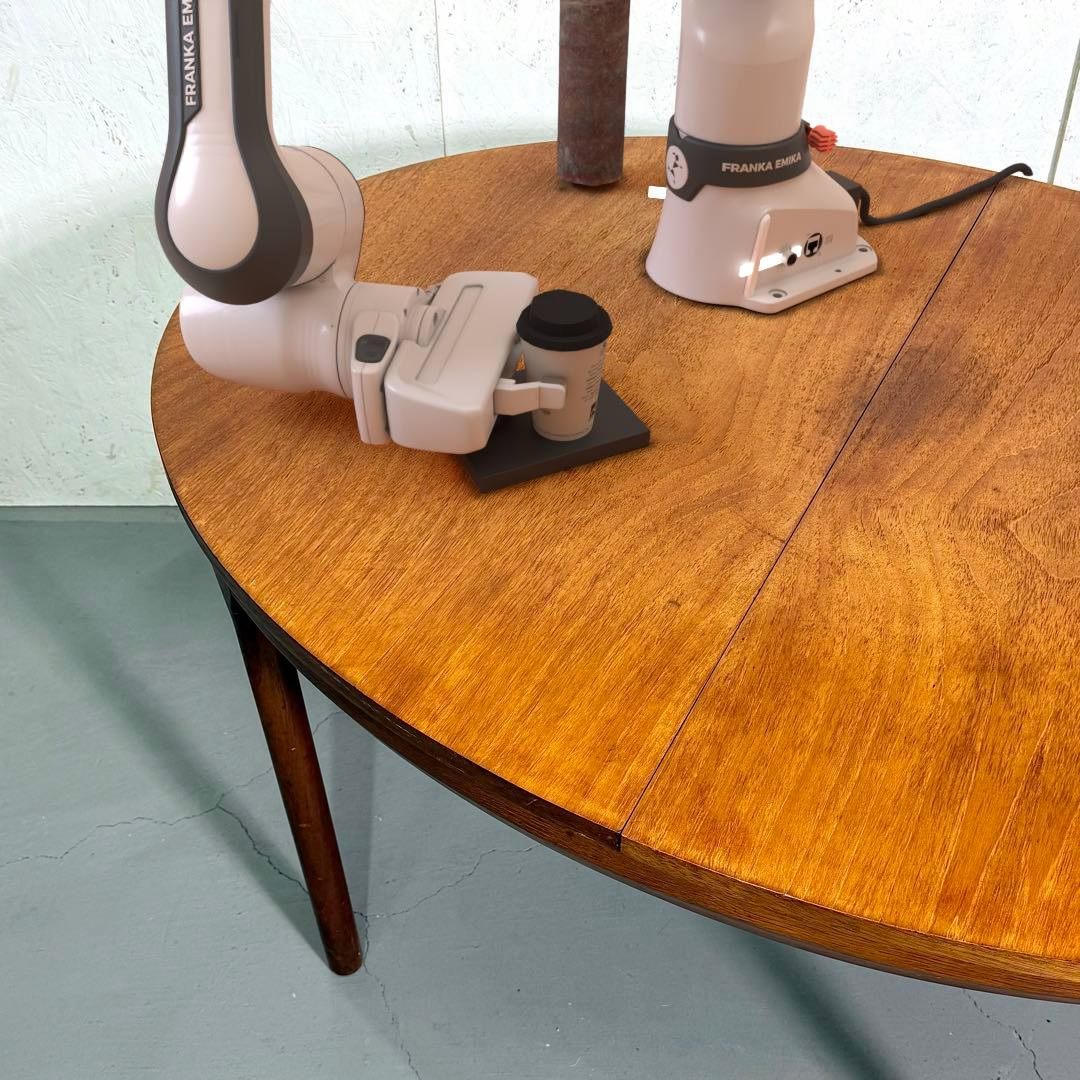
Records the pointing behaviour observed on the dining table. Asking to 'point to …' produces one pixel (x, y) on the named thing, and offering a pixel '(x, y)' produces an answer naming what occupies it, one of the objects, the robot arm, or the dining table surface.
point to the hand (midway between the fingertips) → (576, 363)
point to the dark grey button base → (552, 443)
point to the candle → (592, 90)
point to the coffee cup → (565, 357)
